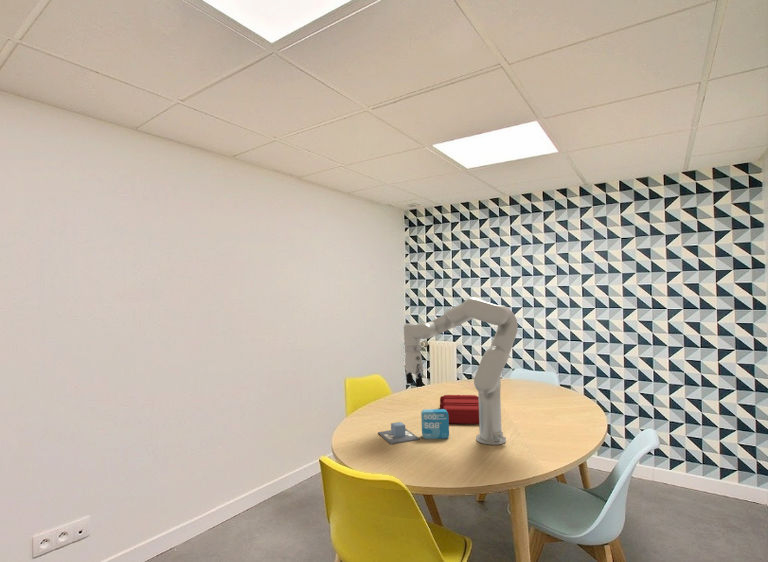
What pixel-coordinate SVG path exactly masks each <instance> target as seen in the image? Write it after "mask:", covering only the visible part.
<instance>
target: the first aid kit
mask: <svg viewBox="0 0 768 562" xmlns="http://www.w3.org/2000/svg"><path fill="white" fill-rule="evenodd" d="M439 409H445V410H446V411H447V412H448V415H449V424H455V425H456V424H458V425H459V424H463V425H465V424H466V425H479V402H478V395H476V394H475V395H474V394H444V395H442V396H440V398H439Z"/></svg>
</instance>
